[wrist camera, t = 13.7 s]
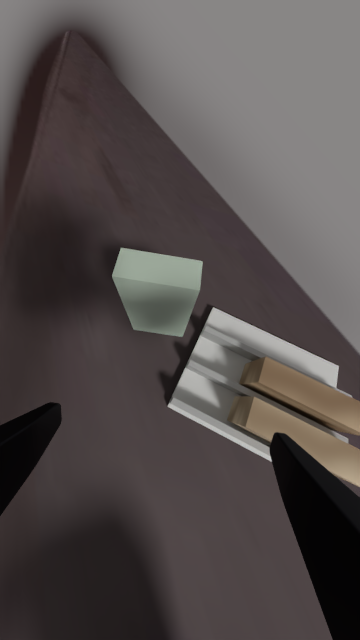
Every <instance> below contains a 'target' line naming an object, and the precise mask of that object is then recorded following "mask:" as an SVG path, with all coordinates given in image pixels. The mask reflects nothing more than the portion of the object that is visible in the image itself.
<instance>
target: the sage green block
mask: <svg viewBox="0 0 360 640" xmlns="http://www.w3.org/2000/svg"><path fill="white" fill-rule="evenodd" d="M202 263H203V261H198V260H192V259H186V258H180V257H174V256H168V255H162V254H156V253H150V252H144V251H138V250H132V249H126V248H121V249H120V252H119V255H118V259H117V262H116V265H115V268H114V271H113V274H112V278H113V280H114V283H115V285H116V288H117V290H118V293H119V295H120V298H121V300H122V302H123V305H124V307H125V310H126V312H127V315H128V317H129V320H130V322H131V325H132V327H133V329H134V330H139V331H146V332H153V333H159V334H166V335H173V336H179V337H183V334H184V331H185V329H186V326H187V323H188V321H189V318H190V315H191V313H192V310H193V307H194V305H195V302H196V299H197V297H198V294H199V291H200V283H201V273H202Z"/></svg>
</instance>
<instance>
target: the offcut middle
mask: <svg viewBox="0 0 360 640" xmlns="http://www.w3.org/2000/svg"><path fill="white" fill-rule="evenodd" d="M239 384H240V385H242V386H244V387H246V388H248V389H250V390H252V391H254V392H256V393H258V394H260V395H262V396H264V397H266V398H268V399H270V400H272V401H274V402H276V403H278V404H280V405H282V406H284V407H286V408H288V409H290V410H292V411H294V412H296V413H298V414H300V415H302V416H304V417H306V418H308V419H310V420H312V421H314V422H316V423H318V424H320V425H322V426H324V427H326V428H328V429H330V430H335V431H340V432H345V433H350V434H355V435H360V402H359V401H357V400H355V399H353V398H351V397H349V396H347V395H345V394H343V393H341V392H339V391H337V390H335V389H332V388H330V387H328V386H326V385H324V384H322V383H320V382H318V381H316V380H314V379H312V378H310V377H308V376H305V375H303V374H301V373H299V372H297V371H295V370H293V369H291V368H289V367H287V366H285V365H283V364H281V363H279V362H276V361H274V360H272V359H270V358H268V357H263V358H260V359H257V360H255V361H252V362H249V363H247V364H245V367H244V370H243V373H242V376H241V379H240V382H239Z"/></svg>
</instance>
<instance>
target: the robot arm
mask: <svg viewBox="0 0 360 640" xmlns="http://www.w3.org/2000/svg"><path fill="white" fill-rule="evenodd" d="M61 420H62V417H61V405H60V404H59V403H53V402H50V403H47V404H45V405H43V406H41V407H38V408H36V409H34V410H32V411H30V412H28V413H26V414H24V415H21V416H19V417H17V418H15V419H13V420H11V421H9V422H7V423H5V424H2V425H0V516H1V514H2V513H3V511H4V510H5V509H6V507H7V506H8V504H9V503H10V502H11V500H12V499H13V497H14V496H15V494H16V493H17V492H18V490H19V489H20V487H21V486H22V485H23V483H24V482H25V480H26V479H27V478H28V476H29V475H30V473H31V472H32V470H33V469H34V467H35V466H36V464H37V463H38V461H39V460H40V458H41V456H42V455H43V453H44V451H45V450H46V448H47V446H48V445H49V443H50V441H51V439H52V438H53V436H54V434H55V433H56V431H57V429H58V428H59V426H60V424H61ZM269 451H270V456H271V460H272V464H273V467H274V471H275V475H276V478H277V482H278V486H279V490H280V493H281V496H282V500H283V503H284V506H285V509H286V511H287V514H288V517H289V520H290V523H291V525H292V528H293V531H294V534H295V536H296V539H297V542H298V545H299V547H300V550H301V553H302V556H303V559H304V561H305V564H306V567H307V570H308V572H309V575H310V578H311V581H312V584H313V586H314V589H315V592H316V595H317V597H318V600H319V603H320V606H321V609H322V611H323V614H324V617H325V620H326V622H327V625H328V628H329V631H330V633H331V636H332V639H333V640H360V497H358V496H357V495H356V494H355V493H354V492H353V491H352V490H350V489H349V488H348V487H347V486H346V485H345V484H343V483H342V482H341V481H340V480H339V479H338V478H337V477H335V476H334V475H333V474H332V473H331V472H330V471H328V470H327V469H326V468H325V467H324V466H323V465H322V464H320V463H319V462H318V461H317V460H316V459H315V458H313V457H312V456H311V455H310V454H309V453H308V452H306V451H305V450H304V449H303V448H302V447H301V446H300V445H298V444H297V443H296V442H295V441H294V440H293V439H291V438H290V437H289V436H288V435H287V434H285V433H280V432H275V433H274V435H273V438H272V441H271V444H270V449H269Z"/></svg>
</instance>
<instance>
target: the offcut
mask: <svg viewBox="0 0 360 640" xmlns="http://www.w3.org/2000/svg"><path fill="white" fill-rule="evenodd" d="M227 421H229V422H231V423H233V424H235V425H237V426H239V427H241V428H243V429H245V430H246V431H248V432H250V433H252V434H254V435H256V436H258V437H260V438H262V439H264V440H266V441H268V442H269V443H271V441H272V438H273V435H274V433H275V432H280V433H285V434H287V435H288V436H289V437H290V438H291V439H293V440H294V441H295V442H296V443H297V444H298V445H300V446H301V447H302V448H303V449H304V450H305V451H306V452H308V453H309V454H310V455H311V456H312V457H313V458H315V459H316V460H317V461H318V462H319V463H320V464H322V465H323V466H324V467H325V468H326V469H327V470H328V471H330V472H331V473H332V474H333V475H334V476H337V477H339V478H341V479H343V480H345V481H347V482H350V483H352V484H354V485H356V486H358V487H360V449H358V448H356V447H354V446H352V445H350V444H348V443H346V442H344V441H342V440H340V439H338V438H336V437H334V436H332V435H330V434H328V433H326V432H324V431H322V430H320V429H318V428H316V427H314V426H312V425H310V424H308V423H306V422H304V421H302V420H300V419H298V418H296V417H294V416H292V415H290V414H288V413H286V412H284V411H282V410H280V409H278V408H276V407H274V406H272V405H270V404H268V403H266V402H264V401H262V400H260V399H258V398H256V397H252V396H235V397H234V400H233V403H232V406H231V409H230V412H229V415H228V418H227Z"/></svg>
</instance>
